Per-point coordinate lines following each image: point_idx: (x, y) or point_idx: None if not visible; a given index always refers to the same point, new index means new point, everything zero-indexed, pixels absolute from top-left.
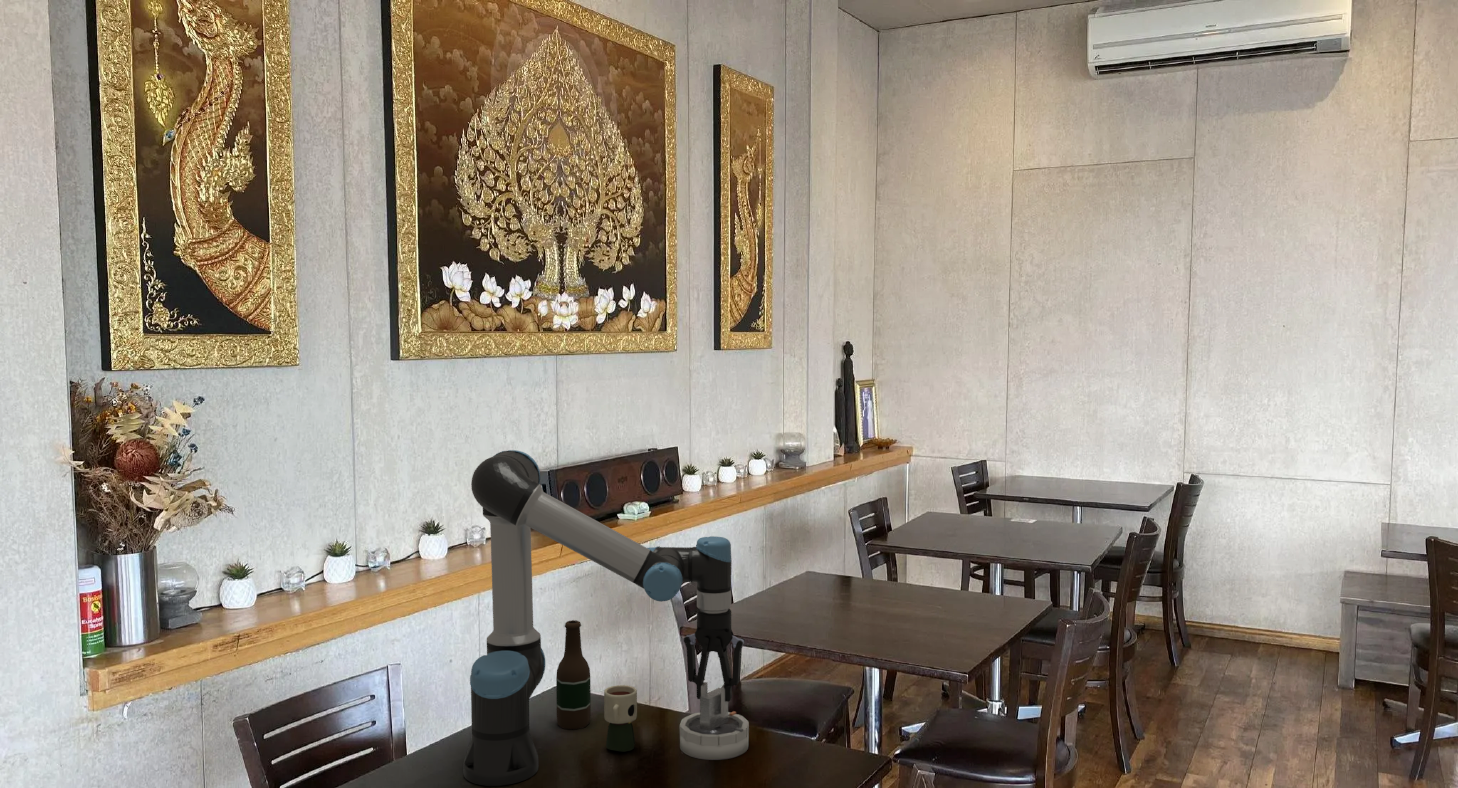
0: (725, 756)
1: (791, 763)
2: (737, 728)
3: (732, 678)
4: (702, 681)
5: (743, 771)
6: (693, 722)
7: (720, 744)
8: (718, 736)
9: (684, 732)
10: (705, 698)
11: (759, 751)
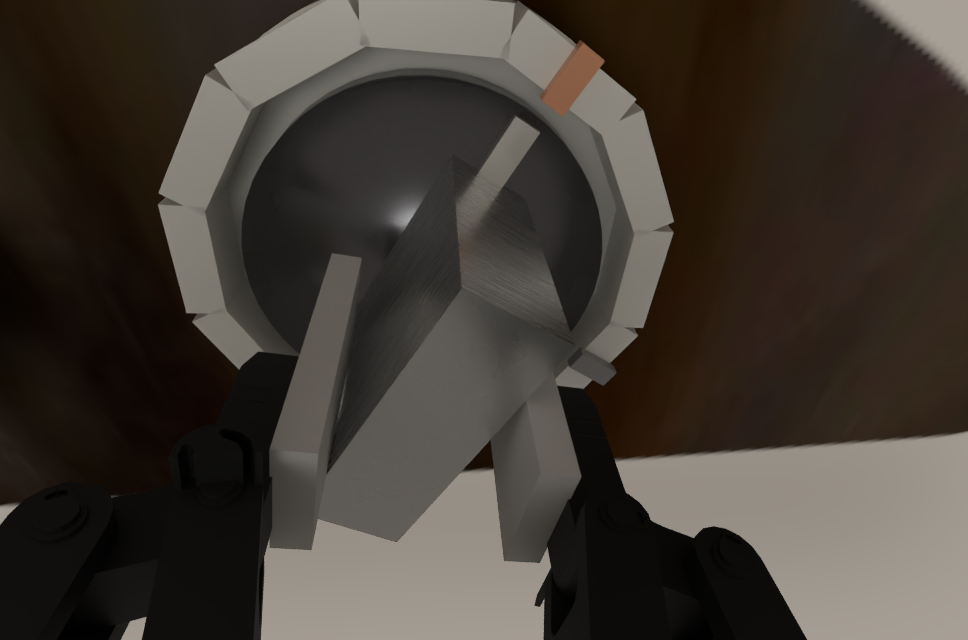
0: None
1: (775, 363)
2: (582, 366)
3: (665, 588)
4: (261, 543)
5: None
6: (267, 239)
7: None
8: None
9: None
10: (357, 527)
11: (667, 260)
